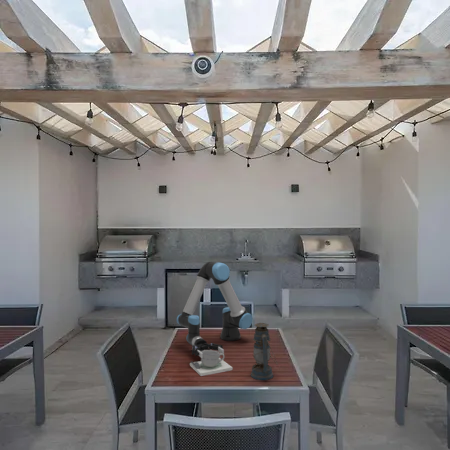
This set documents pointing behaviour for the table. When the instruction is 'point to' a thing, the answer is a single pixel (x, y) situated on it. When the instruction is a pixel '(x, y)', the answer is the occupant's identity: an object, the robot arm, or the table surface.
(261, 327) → the lantern
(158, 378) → the table surface
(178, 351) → the table surface
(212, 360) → the teacup
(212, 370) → the record player
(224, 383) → the table surface
